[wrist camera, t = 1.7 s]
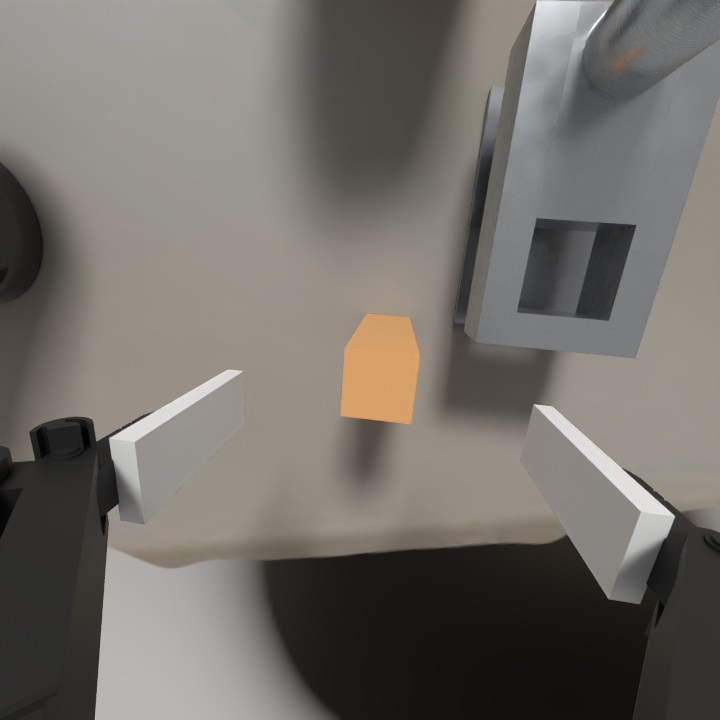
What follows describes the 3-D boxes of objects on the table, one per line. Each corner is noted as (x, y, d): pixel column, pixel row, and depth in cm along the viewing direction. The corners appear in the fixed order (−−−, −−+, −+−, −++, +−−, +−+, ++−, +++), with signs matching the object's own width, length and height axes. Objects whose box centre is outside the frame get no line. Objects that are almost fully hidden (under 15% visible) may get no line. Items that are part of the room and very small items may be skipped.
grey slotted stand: (453, 321, 30) (510, 375, 15) (489, 87, 25) (631, -185, 10) (565, 332, 30) (747, 400, 14) (626, 92, 25) (1005, -195, 9)
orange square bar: (363, 354, 32) (340, 415, 19) (366, 313, 31) (345, 348, 18) (404, 358, 32) (410, 424, 18) (409, 317, 31) (420, 355, 17)
